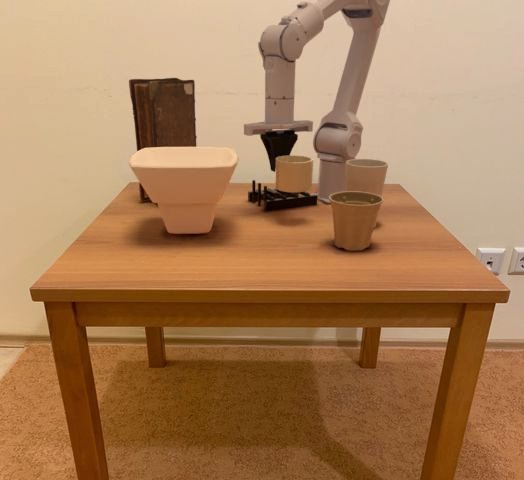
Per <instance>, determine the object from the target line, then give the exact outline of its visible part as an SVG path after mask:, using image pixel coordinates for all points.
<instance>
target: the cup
mask: <svg viewBox="0 0 524 480" xmlns="http://www.w3.org/2000/svg"><path fill="white" fill-rule="evenodd" d="M388 167H389V162H387V161H384V160H381V159H374V158H356V159H352V160H348V161H346V191H360V192H369V193H373V194H377V195H379V196H381V197H383V191H384V186H385V181H386V177H387V171H388ZM378 215H379V211H378V212H377V216H376V220H375V224H374V228H376V227H377V224H378V223H377V221H378V217H379V216H378Z"/></svg>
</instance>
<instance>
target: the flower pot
mask: <svg viewBox="0 0 524 480" xmlns="http://www.w3.org/2000/svg"><path fill="white" fill-rule="evenodd" d="M329 200H330V201H331V203H330V207H331V209H332V219H333V237H334V238H333V239H334V245H335V246H336V247H337V248H338V249H341V248H342V249H344V250H346V251H350V252H353V251H363V250H365V249H366V248H369V247H370V244H371V240H372V235H373V231H374V229H375V227H374V224H375V220H376V216H377V212H378V213H379V211H380V210H381V206H382V204H383V203H384V201H385V199H384V197H383V196H382V197H381V196H379V195H377V194H373V193H369V192H360V191H344V192H337V193H333V194H331V195H330V196H329ZM377 217H378V216H377Z"/></svg>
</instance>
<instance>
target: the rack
mask: <svg viewBox="0 0 524 480" xmlns="http://www.w3.org/2000/svg"><path fill="white" fill-rule="evenodd" d="M251 183H252V184H251V186H252V187H251V190H250V191H247V201H248V202H249V203H252V204H256V202H257V206H258V207H262V202H263V210H264V212H273V211H281V210H289V209H298V208H304V207H314V206H318V199H317V198H318V195H310V194H311V193H309V192H308V191H306V192H284V191H280V190H277V189H276V188H271V187H268V185H264V186H263V189H262V183H261V182H257V189H256V180H255V179H252V181H251Z"/></svg>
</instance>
